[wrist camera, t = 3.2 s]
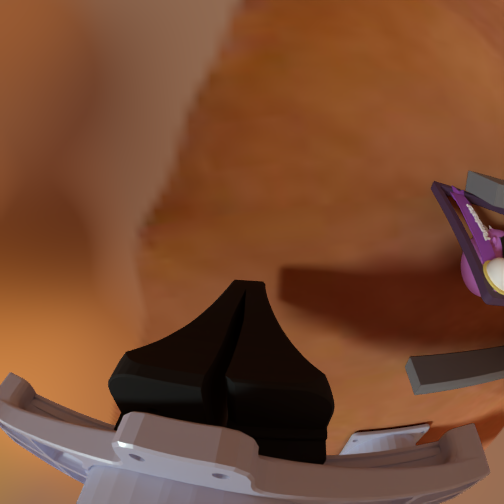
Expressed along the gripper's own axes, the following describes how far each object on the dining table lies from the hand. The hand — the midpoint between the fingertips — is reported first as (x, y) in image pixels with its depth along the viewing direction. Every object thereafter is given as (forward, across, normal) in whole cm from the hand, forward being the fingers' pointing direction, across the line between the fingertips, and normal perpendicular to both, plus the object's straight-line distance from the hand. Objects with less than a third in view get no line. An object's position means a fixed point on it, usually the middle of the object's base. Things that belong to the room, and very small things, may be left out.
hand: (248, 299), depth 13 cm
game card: (+2, -12, -3) cm, 13 cm away
